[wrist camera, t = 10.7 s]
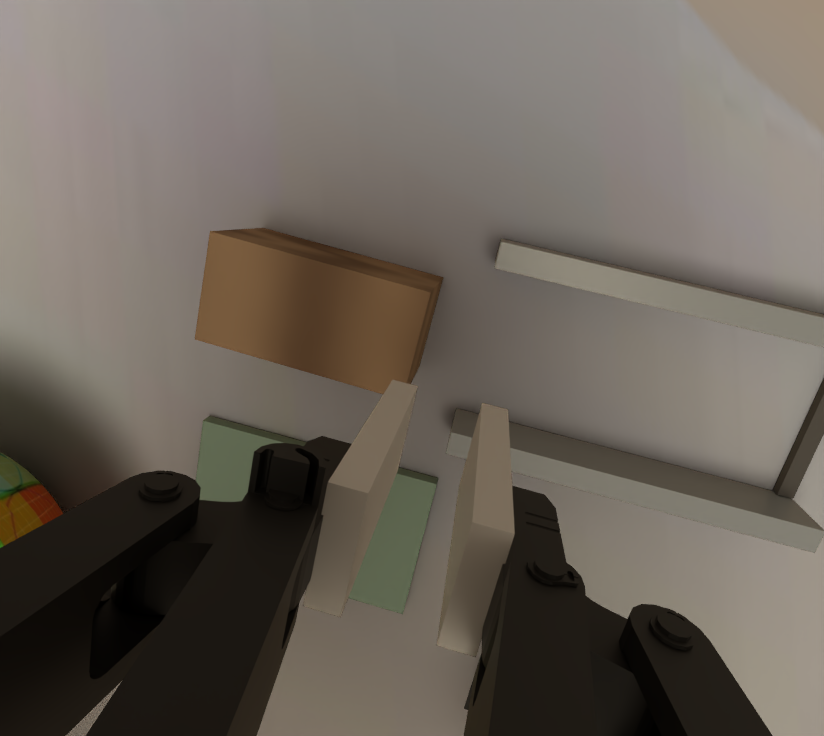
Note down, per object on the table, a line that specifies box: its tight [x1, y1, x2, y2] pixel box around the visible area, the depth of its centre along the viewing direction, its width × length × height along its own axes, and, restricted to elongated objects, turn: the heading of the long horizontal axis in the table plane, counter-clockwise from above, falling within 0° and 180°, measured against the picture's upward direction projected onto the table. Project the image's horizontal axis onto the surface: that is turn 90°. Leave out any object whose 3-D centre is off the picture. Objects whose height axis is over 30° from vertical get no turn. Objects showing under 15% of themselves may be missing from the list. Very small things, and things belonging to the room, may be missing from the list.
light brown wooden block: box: [195, 228, 443, 394], centre depth 28 cm, size 10×5×6 cm, turn 76°
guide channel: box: [446, 238, 824, 553], centre depth 28 cm, size 18×11×4 cm, turn 77°
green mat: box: [196, 416, 438, 614], centre depth 34 cm, size 14×9×1 cm, turn 77°
